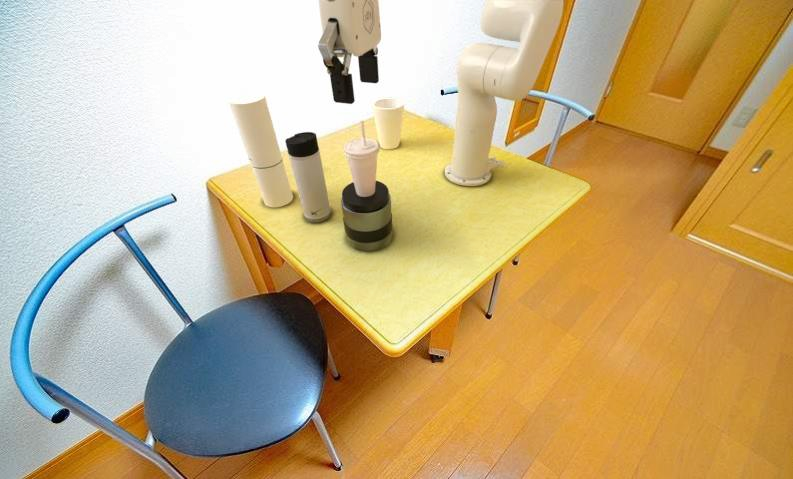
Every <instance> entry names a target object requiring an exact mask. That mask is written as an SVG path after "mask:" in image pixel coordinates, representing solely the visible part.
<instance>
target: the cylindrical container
mask: <svg viewBox="0 0 793 479" xmlns="http://www.w3.org/2000/svg"><path fill="white" fill-rule="evenodd" d="M227 102H228V105H229V108H230V110H231V114H232V116H233V120H234V122H235V124H236V127H237V129H238V133H239V136H240V139H241V141H242V144H243V147H244V150H245V153H246V155H247V156H246V157H247V158H248V161H249V164H250V167H251V170H252V172H253V175H254V178H255V181H256V184H257V186H258V189H259V192H260V195H261V198H262V201H263V204H264V205H265V206H267V207H269V208H281V207H285V206H286V205H288V204H290V203H291V202H292V201H293V198H294V195H293V192H292V188H291V185H290V182H289V178H288V175H287V171H286V170H287V169H286V167H285V163H284V160H283V156H282V152H281V149H280V145H279V142H278V138H277V135H276V131H275V128H274V123H273V120H272V116H271V113H270V110H269V106H268V103H267V102H268V101H267V99H266V95H265V93H263V92H260V91H259V92H258V91H246V92H241V93H237V94H234V95H231V96H230V97H229V98H228V99H227Z"/></svg>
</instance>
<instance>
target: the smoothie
mask: <svg viewBox="0 0 793 479" xmlns="http://www.w3.org/2000/svg"><path fill="white" fill-rule="evenodd" d="M360 131H361V132H360V133H361V137H360V138H359V137H358V138H353V139H350V140H348V141H347V142H345V143H344V145H343V154H344V156H346V159H347V164H348V166H349V171H350V175H351V178H352V182H354V186H355V189H356V193H357V195H359V196H361V197H368V196H371V195H373V194H374V193H375V184H376V181H377V169H378V168H377V166H378V154H379V152H380V144H379V141H377V140H375V139H372V138H367V137H366V132H365V121H363V120H361V121H360Z"/></svg>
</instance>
